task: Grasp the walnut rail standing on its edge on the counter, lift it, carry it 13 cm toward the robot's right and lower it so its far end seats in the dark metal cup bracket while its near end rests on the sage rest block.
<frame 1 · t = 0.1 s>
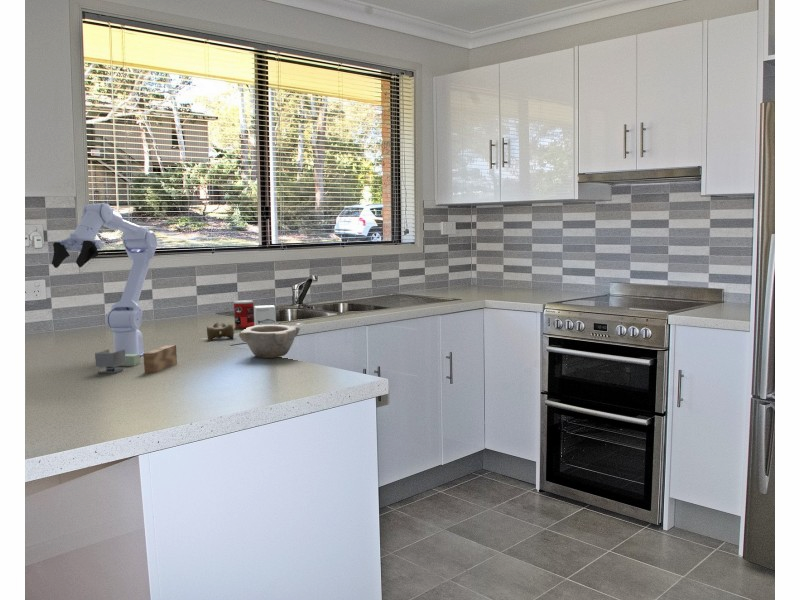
hand: (66, 265, 203), 32 cm above the table, tool tilted 50°, fingers open, 7 cm apart
walnut rail: (161, 368, 214), on the table
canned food: (244, 327, 296), on the table
mortar: (271, 356, 230), on the table
cup bracket: (111, 371, 211), on the table
supplement box: (266, 340, 262), on the table
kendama: (220, 338, 270), on the table
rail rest: (129, 364, 221), on the table
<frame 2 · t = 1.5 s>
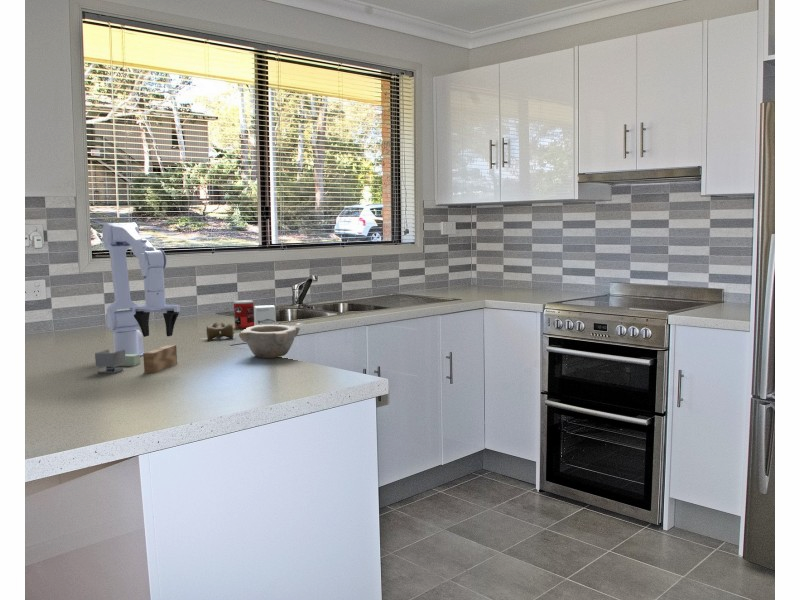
hand: (157, 336, 213), 10 cm above the table, tool pointing down, fingers open, 7 cm apart
nothing on the table moved.
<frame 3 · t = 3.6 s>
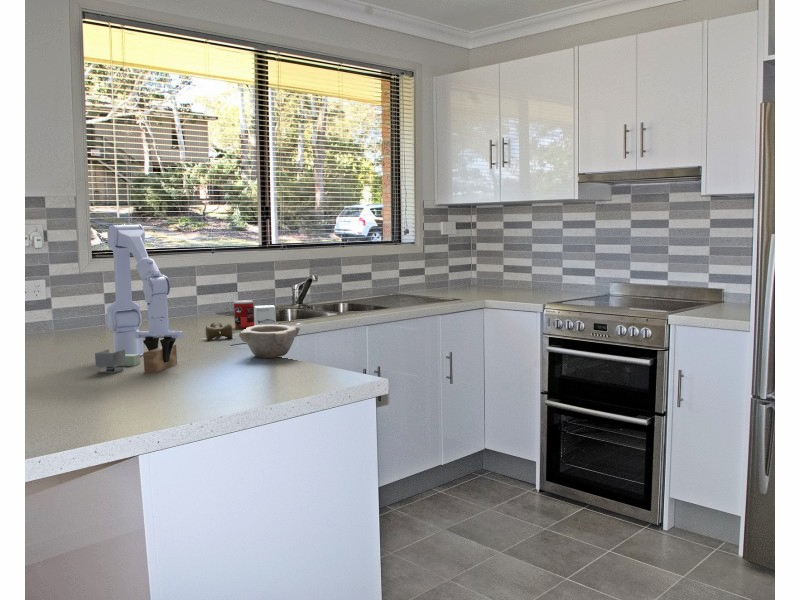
hand: (161, 361, 214), 2 cm above the table, tool pointing down, fingers closed on walnut rail, 3 cm apart
walnut rail: (161, 368, 214), on the table, touching gripper
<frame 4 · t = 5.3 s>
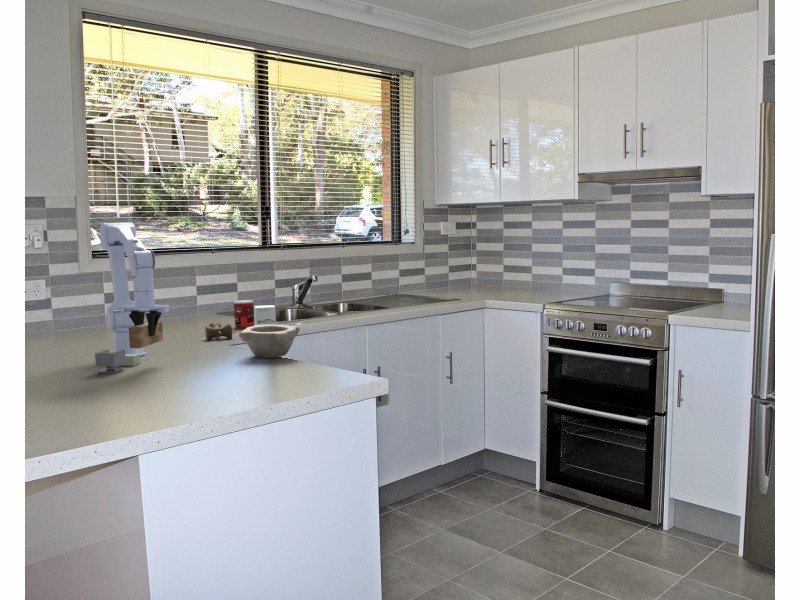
hand: (146, 335, 214), 10 cm above the table, tool pointing down, fingers closed on walnut rail, 3 cm apart
walnut rail: (147, 344, 214), point 7 cm above the table, touching gripper
everything else where it was.
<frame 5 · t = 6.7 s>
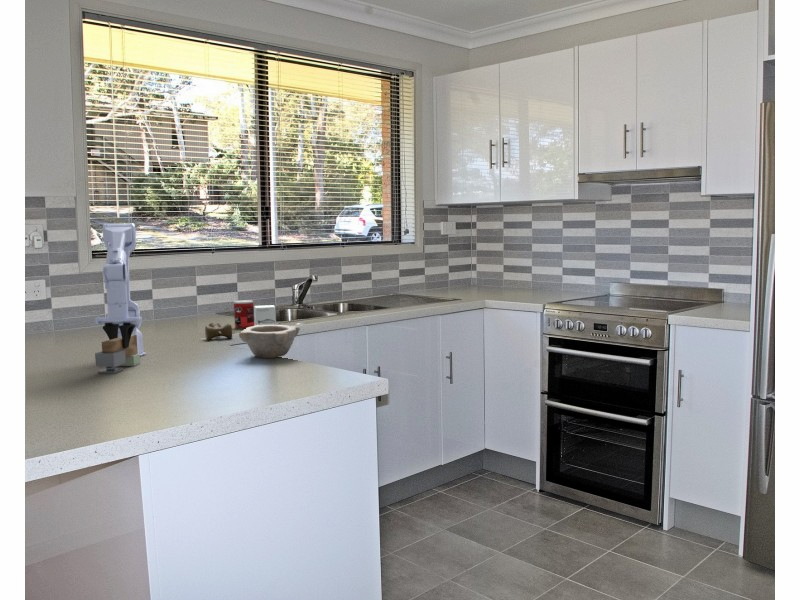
hand: (120, 347, 216), 6 cm above the table, tool pointing down, fingers closed on walnut rail, 3 cm apart
walnut rail: (120, 357, 216), point 3 cm above the table, touching gripper
when the fingers open (6 cm above the table, at t = 7.5 s): walnut rail stays where it is, resting on cup bracket, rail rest.
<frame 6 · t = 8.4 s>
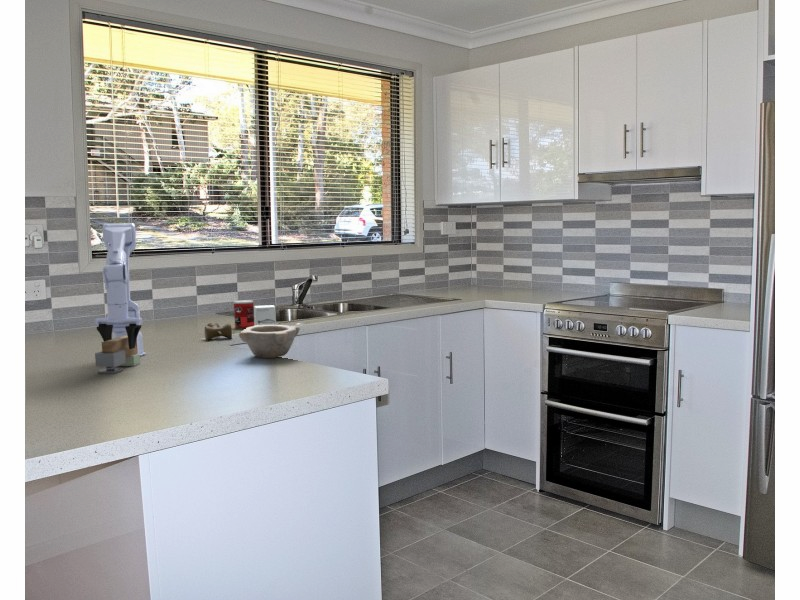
hand: (120, 348, 216), 6 cm above the table, tool pointing down, fingers open, 7 cm apart
walnut rail: (120, 357, 216), point 3 cm above the table, touching cup bracket, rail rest
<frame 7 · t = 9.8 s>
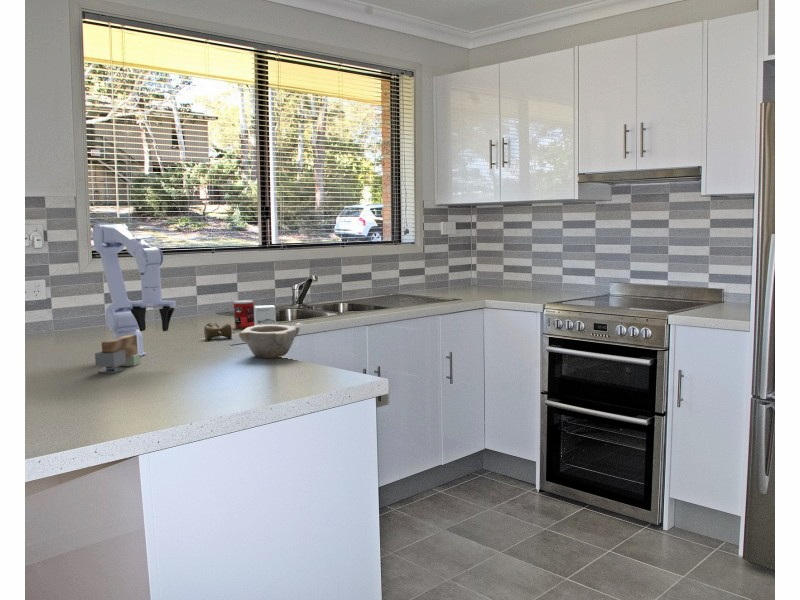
hand: (154, 330, 220), 10 cm above the table, tool pointing down, fingers open, 7 cm apart
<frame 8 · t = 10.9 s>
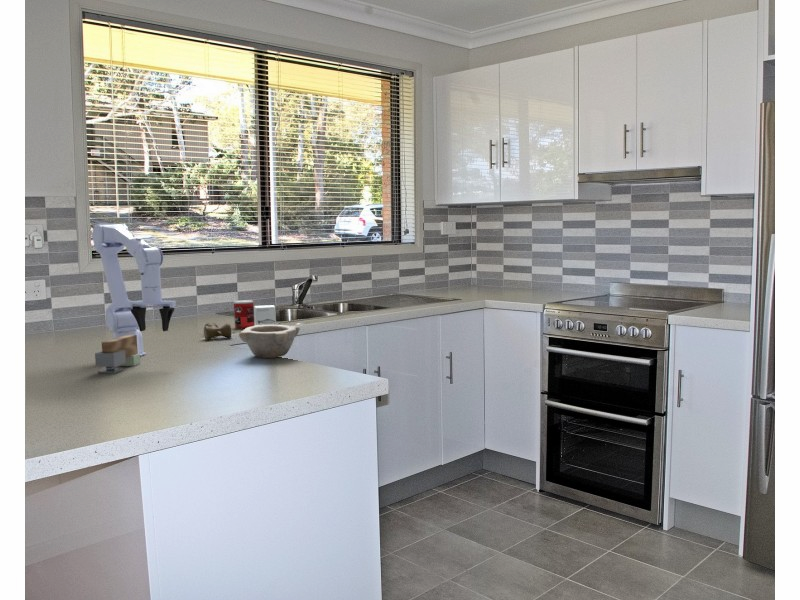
hand: (154, 330, 220), 10 cm above the table, tool pointing down, fingers open, 7 cm apart
at the end: walnut rail 0.1 cm from the target spot, point 3.0 cm above the table; walnut rail tilted 0°; walnut rail touching cup bracket, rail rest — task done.
